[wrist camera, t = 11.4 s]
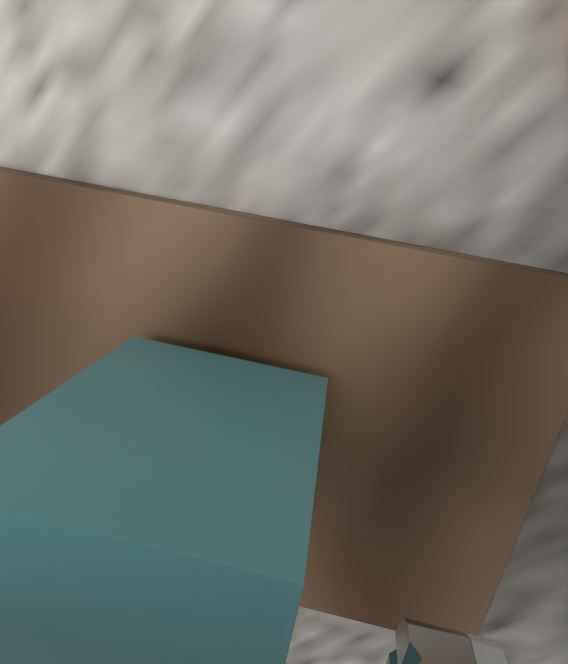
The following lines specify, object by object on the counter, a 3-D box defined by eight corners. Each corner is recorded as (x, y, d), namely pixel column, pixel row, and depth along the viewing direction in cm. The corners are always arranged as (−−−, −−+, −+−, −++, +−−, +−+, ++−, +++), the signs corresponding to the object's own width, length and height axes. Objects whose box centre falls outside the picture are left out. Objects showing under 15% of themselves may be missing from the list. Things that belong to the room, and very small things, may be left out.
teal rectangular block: (328, 377, 12) (303, 584, 6) (292, 541, 13) (241, 844, 7) (134, 336, 12) (-90, 486, 6) (121, 499, 14) (-67, 752, 8)
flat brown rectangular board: (587, 277, 13) (998, 426, 5) (461, 609, 16) (569, 1016, 8) (-24, 162, 14) (-523, 122, 6) (-14, 492, 18) (-316, 742, 10)
